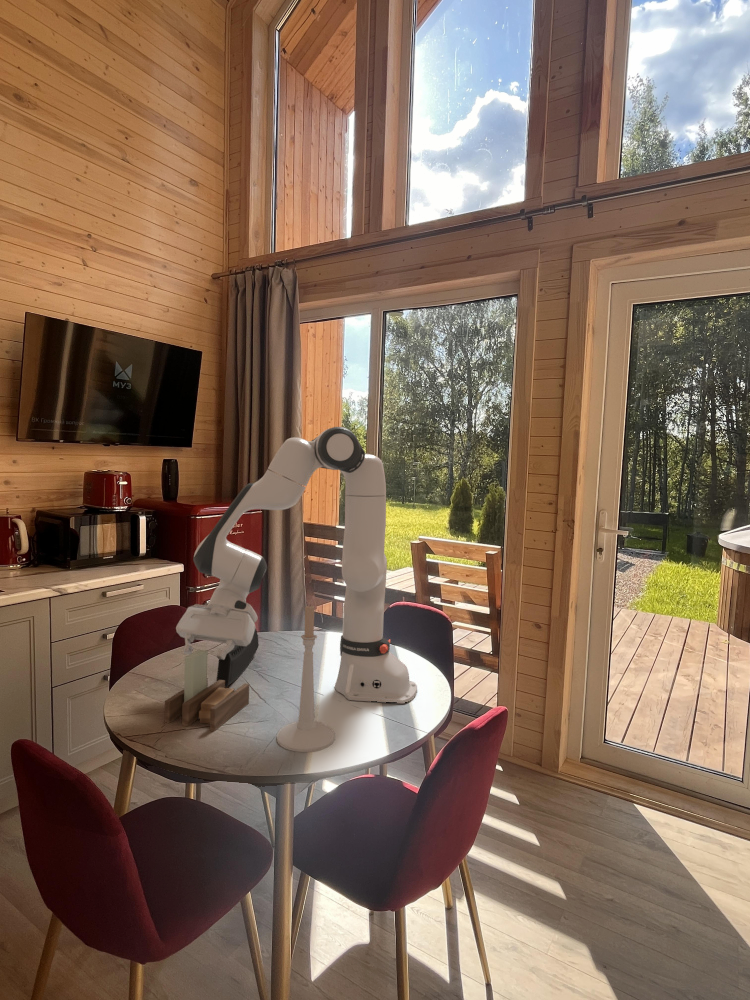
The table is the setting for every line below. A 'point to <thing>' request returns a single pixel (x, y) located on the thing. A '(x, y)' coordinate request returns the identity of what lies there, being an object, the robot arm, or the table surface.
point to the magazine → (237, 661)
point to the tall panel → (195, 673)
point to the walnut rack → (217, 712)
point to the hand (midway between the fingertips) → (203, 655)
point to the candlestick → (306, 704)
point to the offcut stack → (212, 703)
